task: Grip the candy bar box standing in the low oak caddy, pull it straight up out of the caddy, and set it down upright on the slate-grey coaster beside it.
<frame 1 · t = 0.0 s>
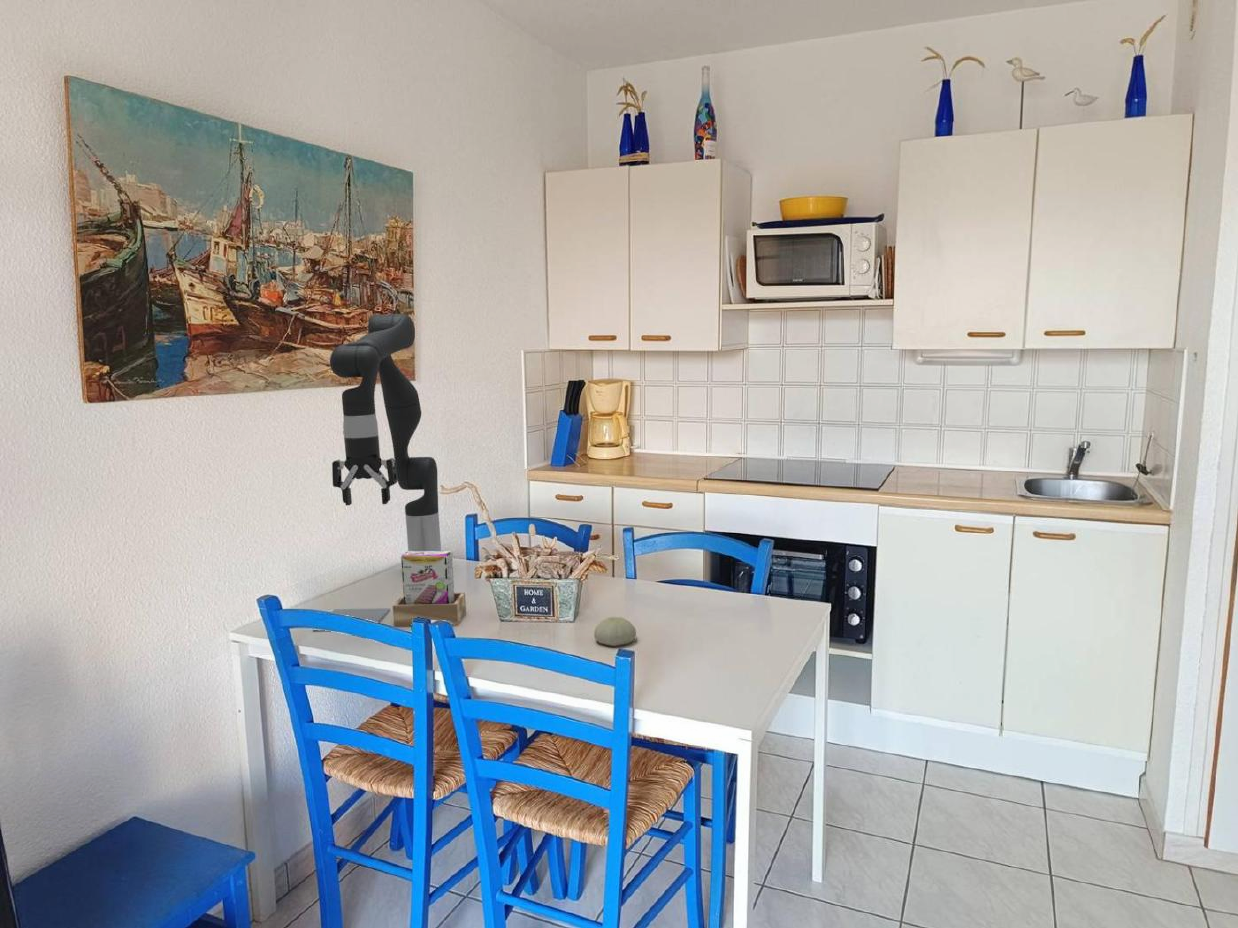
hand: (366, 504, 197), 29 cm above the table, fingers open, 8 cm apart
candy bar box: (431, 620, 205), resting in caddy
coaster: (352, 620, 206), on the table
sea urchin shell: (615, 641, 188), on the table
caddy: (430, 619, 205), on the table
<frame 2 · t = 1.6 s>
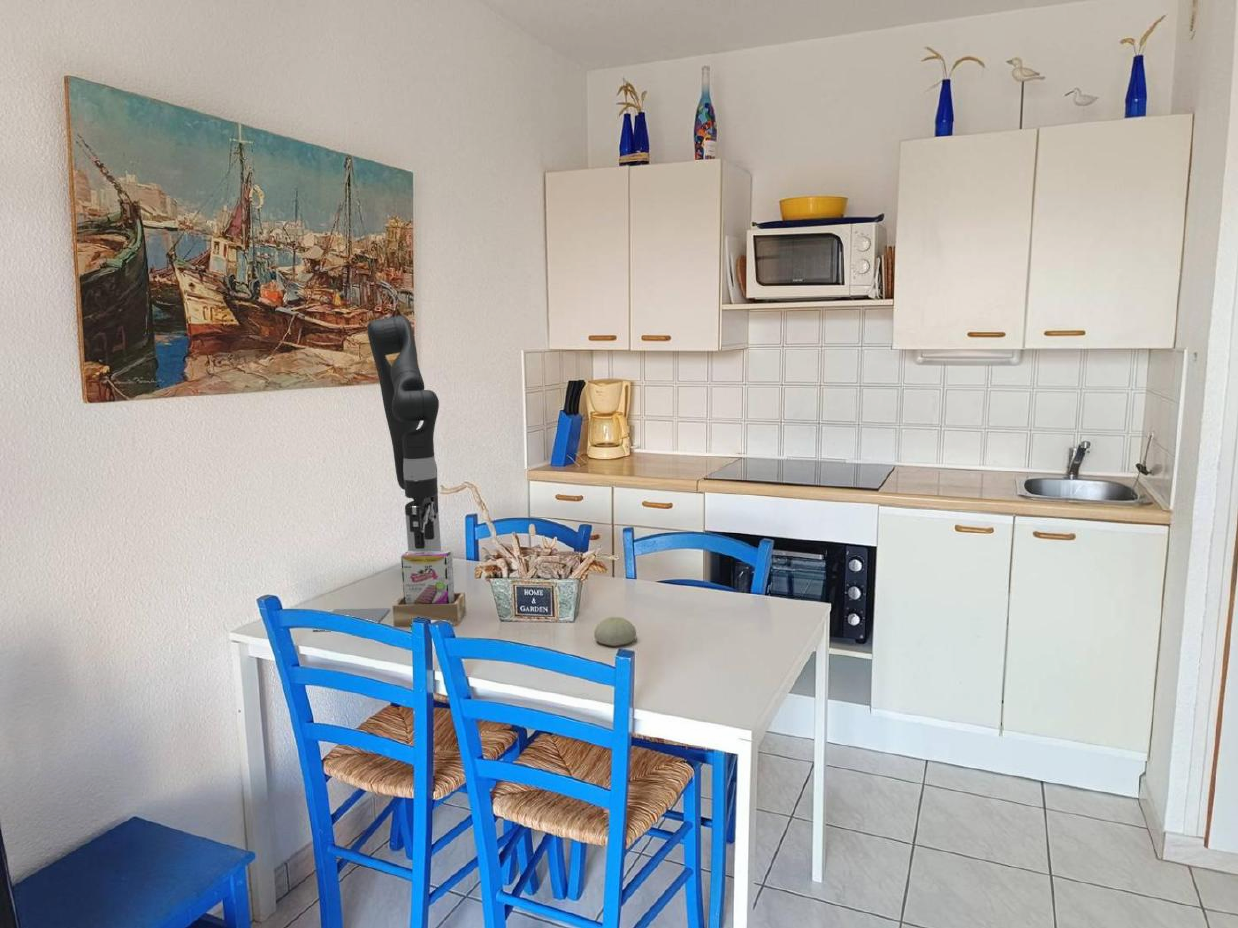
hand: (425, 543, 202), 19 cm above the table, fingers open, 8 cm apart
nothing on the table moved.
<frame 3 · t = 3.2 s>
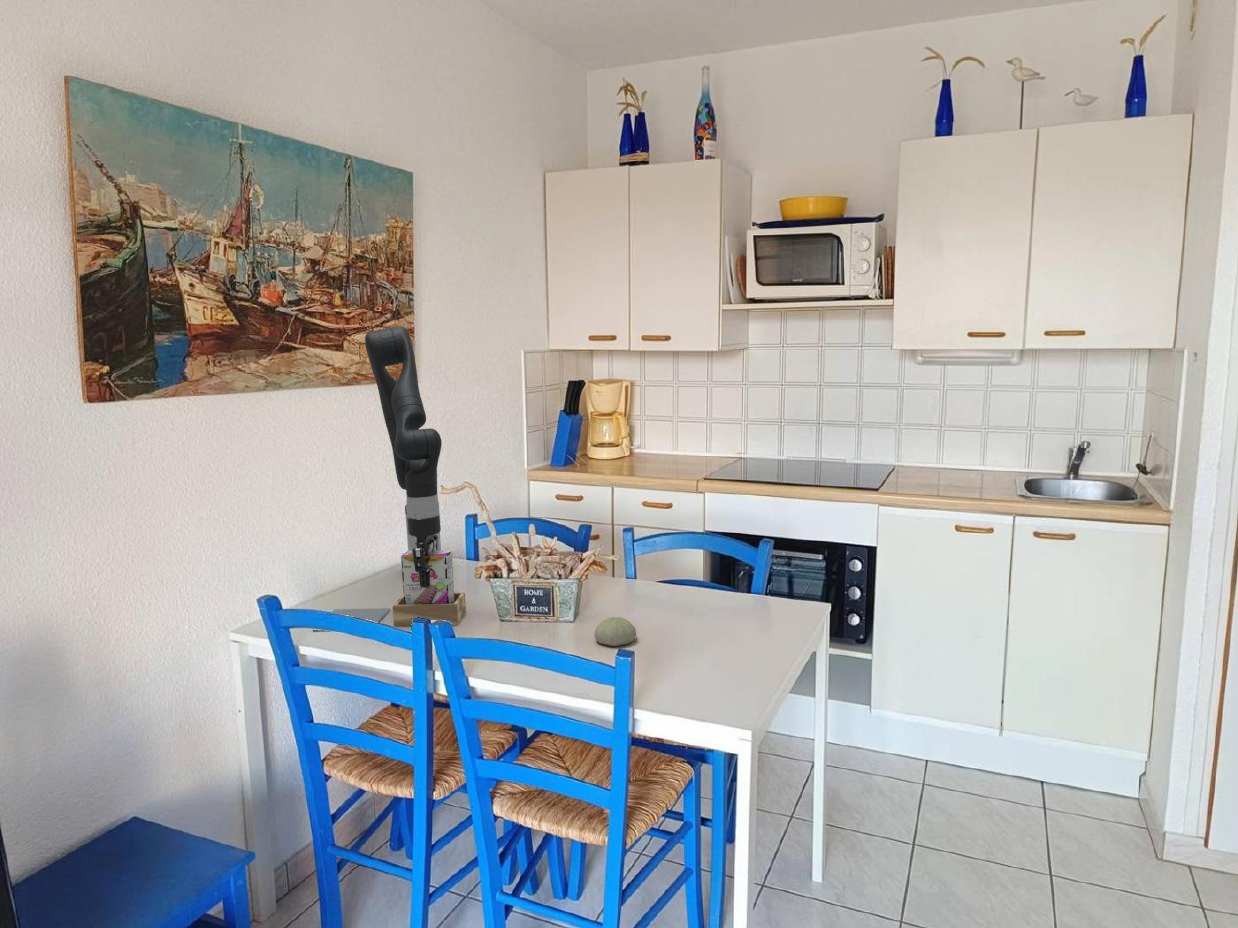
hand: (428, 583, 204), 9 cm above the table, fingers closed on candy bar box, 5 cm apart
candy bar box: (430, 619, 205), resting in caddy, touching gripper
everything else where it was.
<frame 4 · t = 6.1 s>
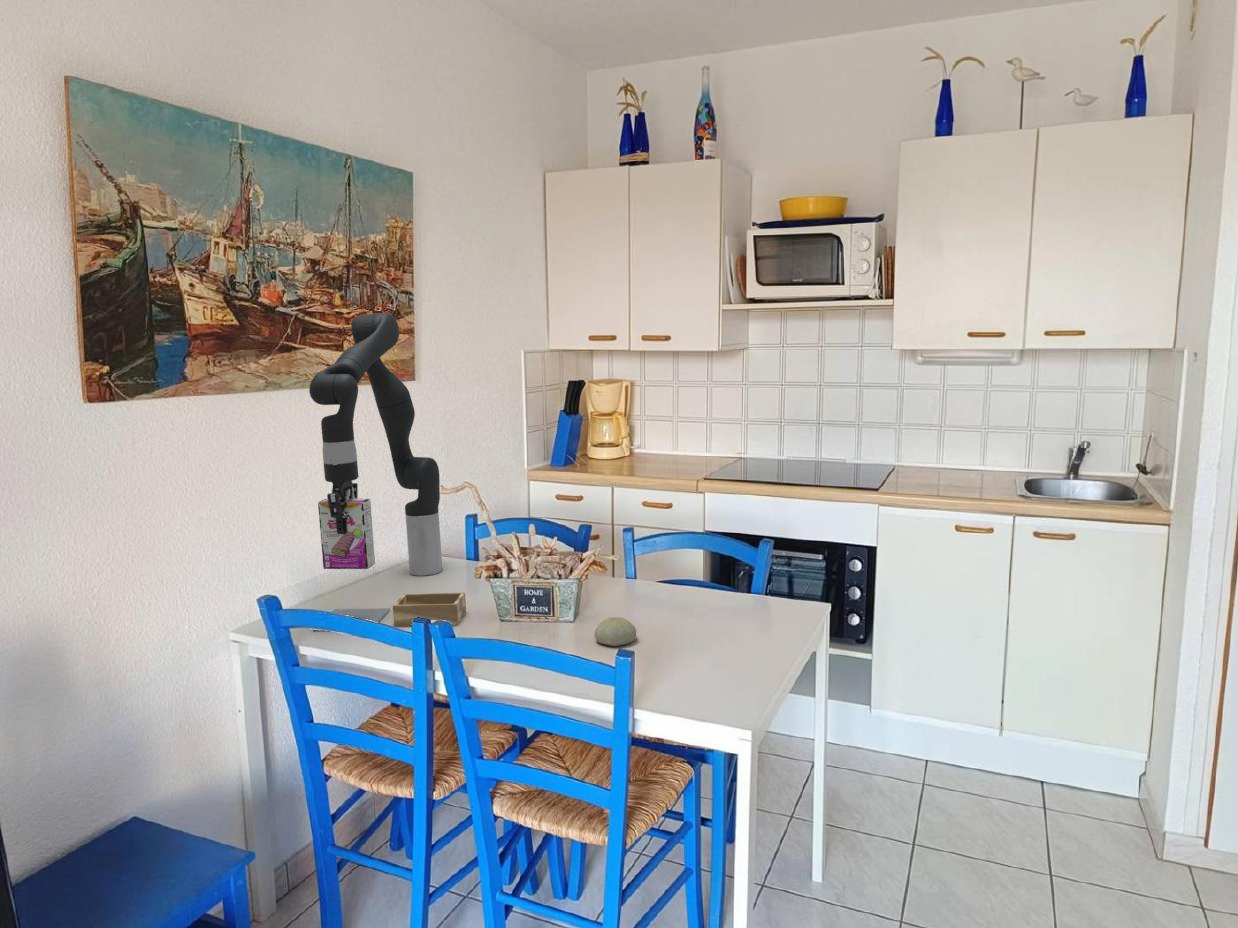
hand: (346, 530, 203), 22 cm above the table, fingers closed on candy bar box, 5 cm apart
candy bar box: (349, 567, 204), point 13 cm above the table, touching gripper
everything else where it was.
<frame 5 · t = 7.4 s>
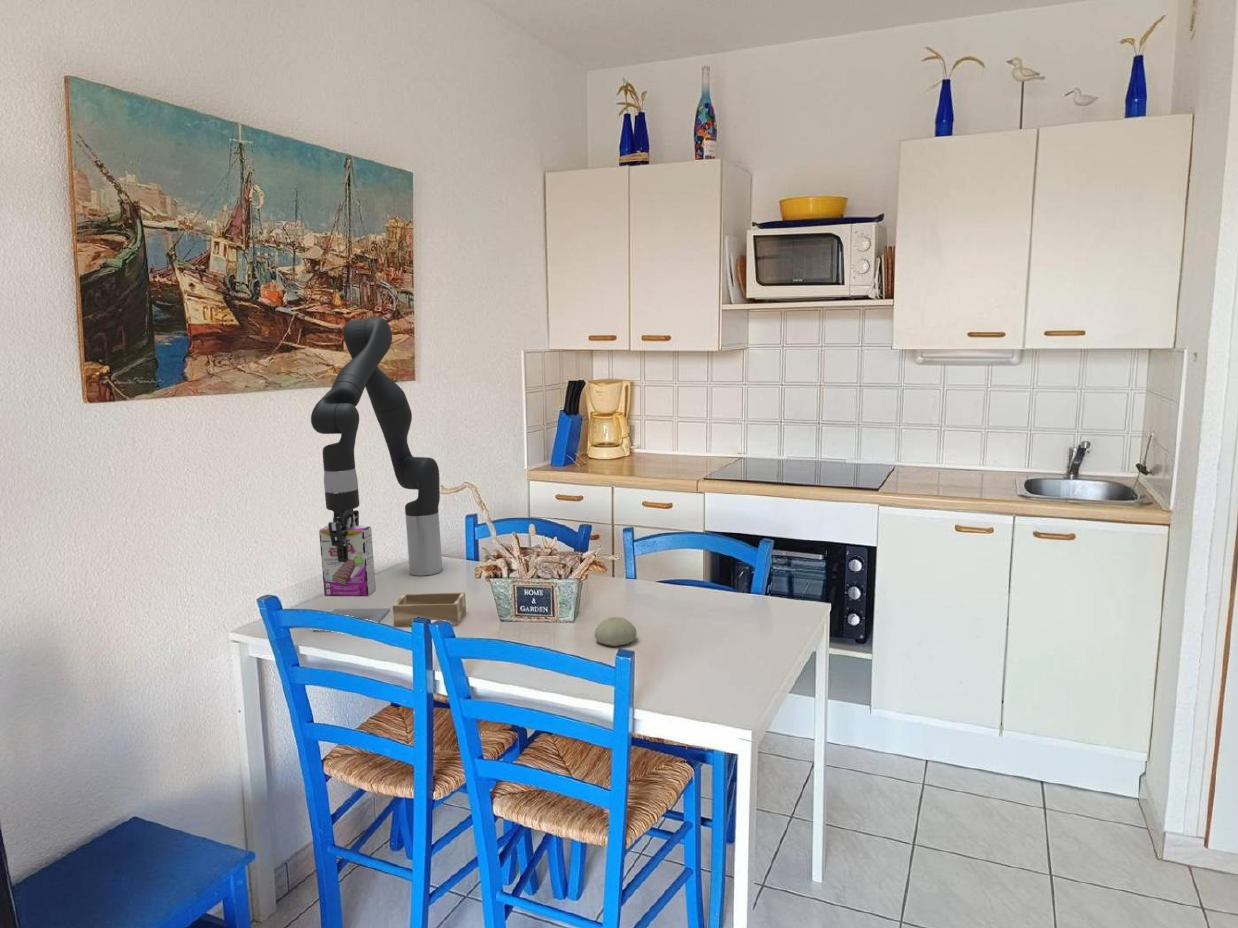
hand: (347, 558, 204), 16 cm above the table, fingers closed on candy bar box, 5 cm apart
candy bar box: (350, 594, 205), point 6 cm above the table, touching gripper
everything else where it was.
when the fingers open (10 cm above the table, at t = 8.8 s): candy bar box stays where it is, resting on coaster.
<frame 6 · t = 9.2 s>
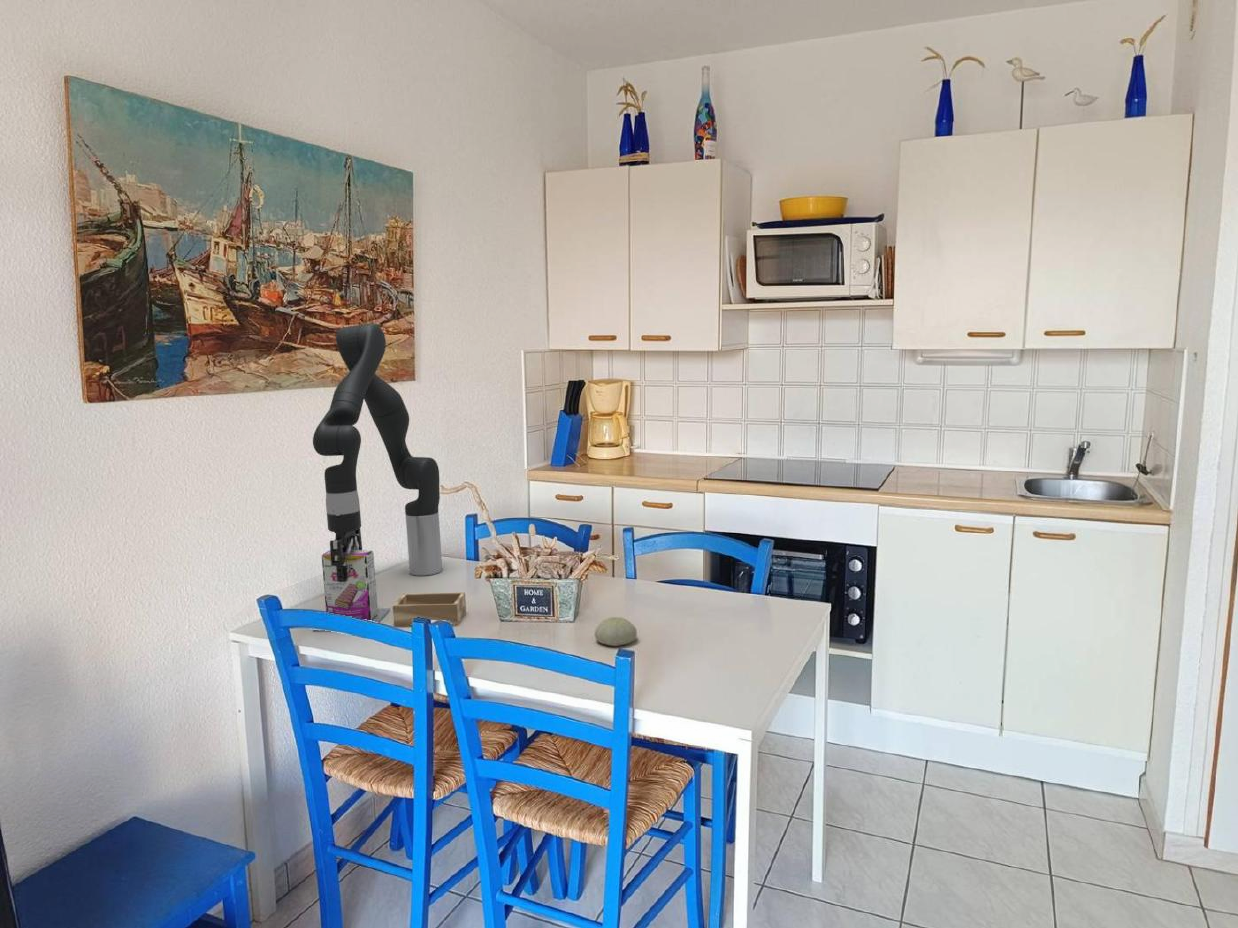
hand: (349, 576, 205), 11 cm above the table, fingers open, 8 cm apart
candy bar box: (352, 618, 206), resting on coaster
everything else where it was.
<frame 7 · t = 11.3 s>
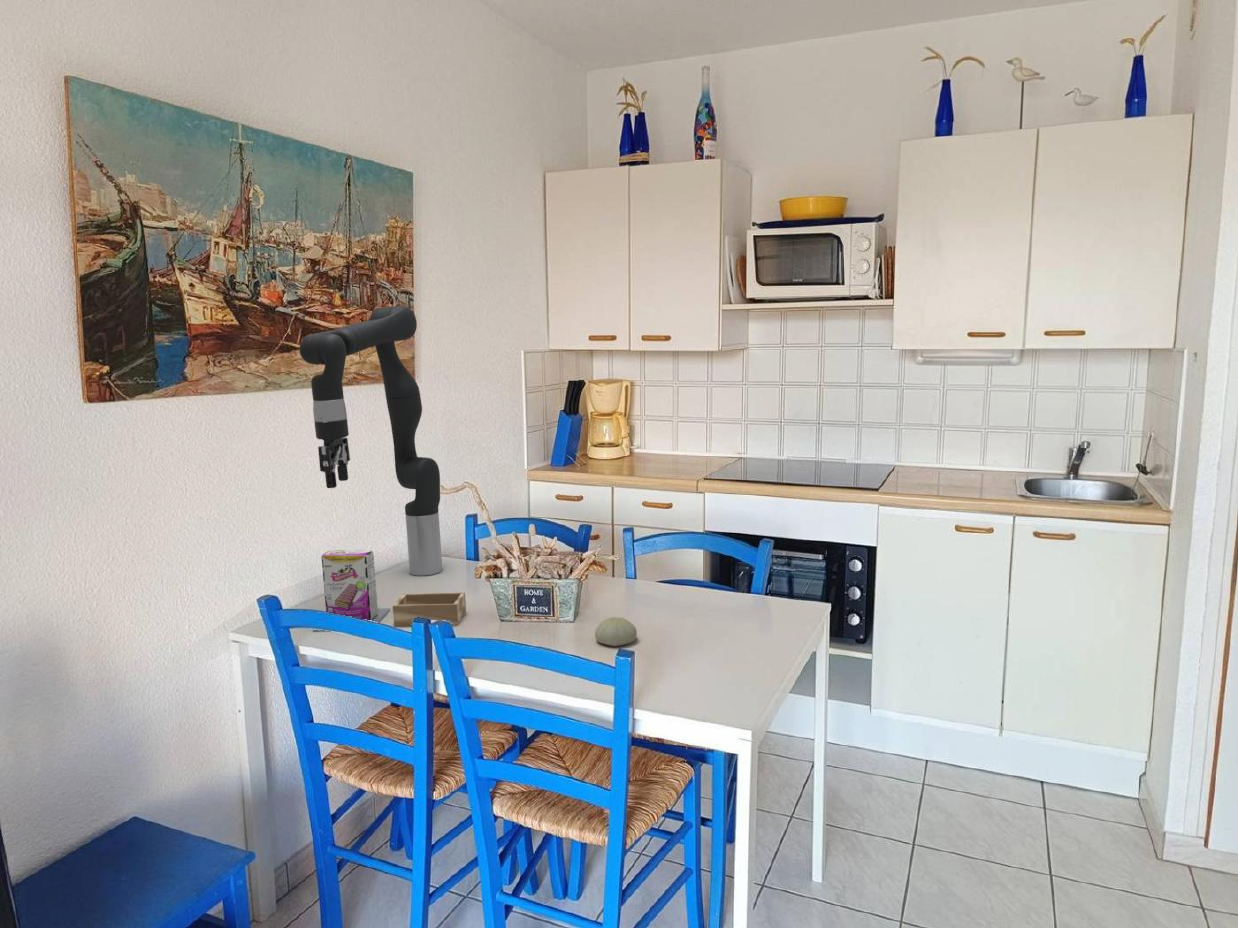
hand: (337, 484, 209), 32 cm above the table, fingers open, 8 cm apart
nothing on the table moved.
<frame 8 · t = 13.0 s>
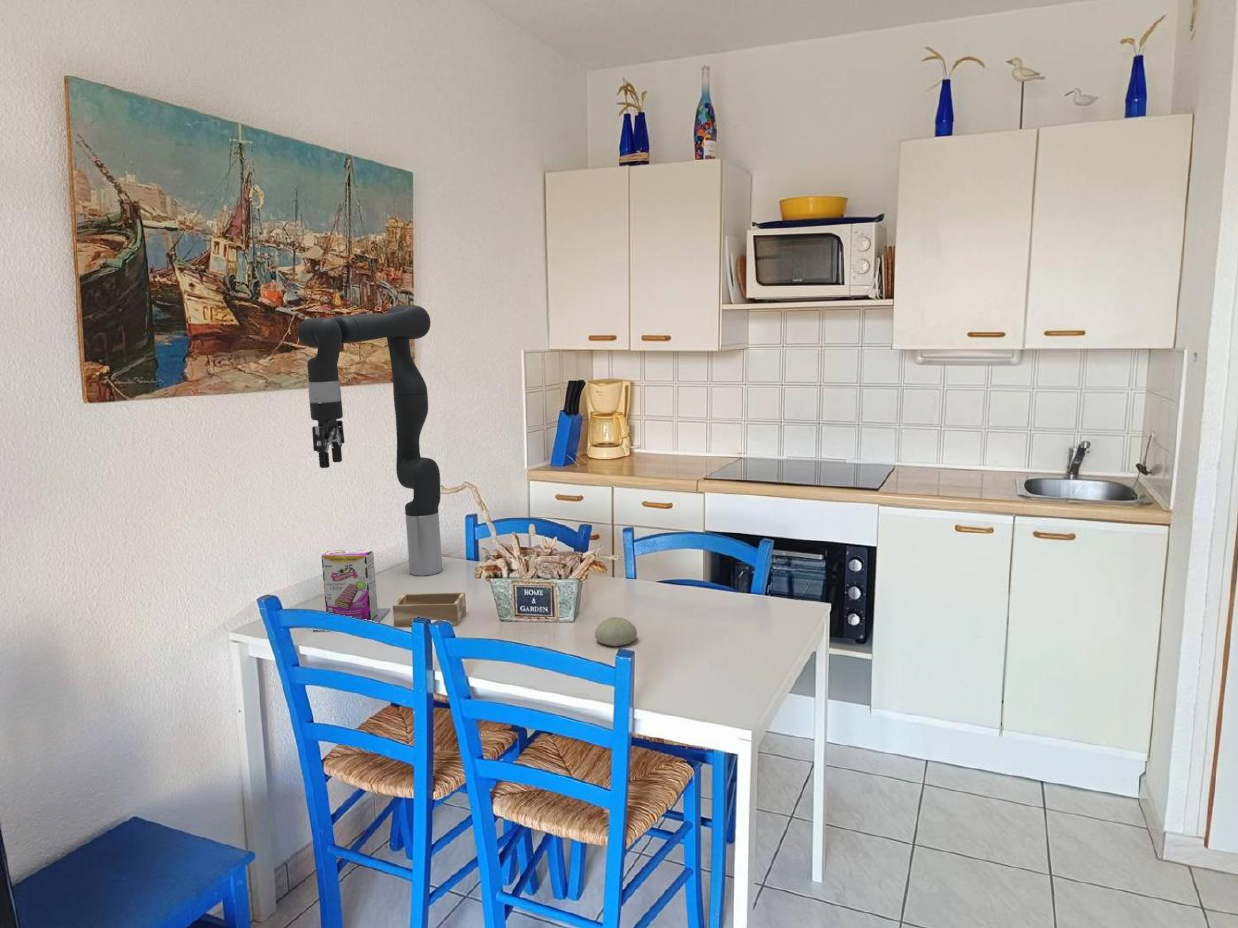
hand: (331, 464, 214), 36 cm above the table, fingers open, 8 cm apart
nothing on the table moved.
at the end: candy bar box inside the target area on the coaster (0.0 cm from its centre), point 0.4 cm above the coaster's base; candy bar box tilted 0°; the gripper is holding nothing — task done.
